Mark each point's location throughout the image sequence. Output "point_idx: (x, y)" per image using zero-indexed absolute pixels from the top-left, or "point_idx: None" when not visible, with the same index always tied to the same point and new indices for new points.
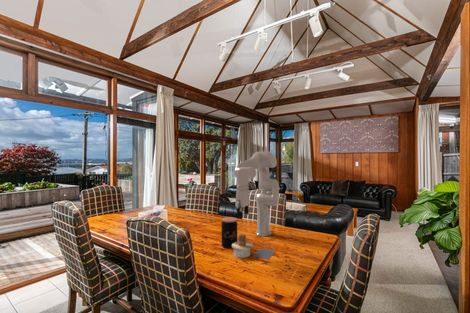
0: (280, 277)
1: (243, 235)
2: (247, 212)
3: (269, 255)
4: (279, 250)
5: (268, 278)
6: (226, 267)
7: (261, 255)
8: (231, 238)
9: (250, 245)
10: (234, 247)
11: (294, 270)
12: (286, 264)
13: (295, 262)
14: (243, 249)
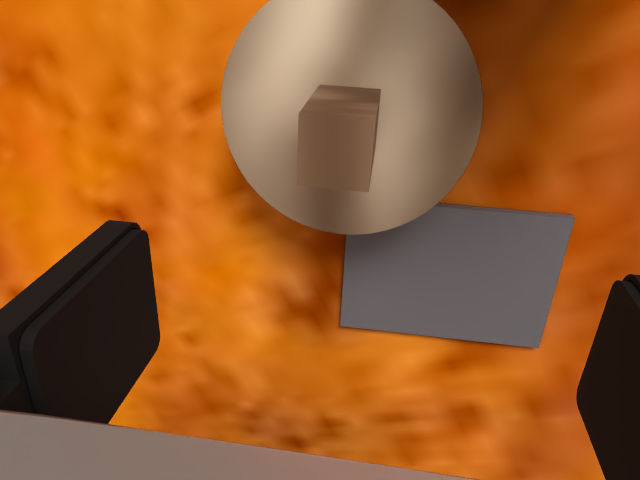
0: (165, 413)
1: (328, 172)
2: (597, 412)
3: (420, 318)
4: (578, 360)
5: None
6: (68, 65)
7: (394, 263)
8: None
9: (372, 205)
10: (237, 58)
11: None
12: (337, 425)
13: (390, 465)
14: (242, 172)
